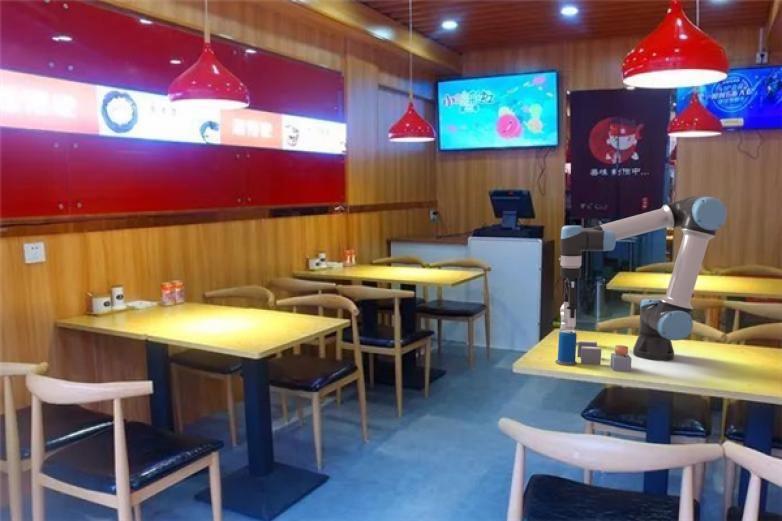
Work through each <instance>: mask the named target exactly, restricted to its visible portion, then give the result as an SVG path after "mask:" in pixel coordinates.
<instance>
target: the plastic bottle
mask: <svg viewBox="0 0 782 521" xmlns="http://www.w3.org/2000/svg"><path fill="white" fill-rule="evenodd" d="M559 311H560V330H563V329H568V330H574V331H575V327H568V319H563V312H564V302H563V303H562V305H561V306H560V308H559Z"/></svg>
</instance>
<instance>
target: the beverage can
mask: <svg viewBox="0 0 782 521" xmlns="http://www.w3.org/2000/svg"><path fill="white" fill-rule="evenodd" d="M577 337H578V334H577V333H576V330H575V329H574V330H568V329H563V330H560V331H559V333H558V346H557V347H558V348H557V350H558V351H557V360H559V361H560V362H561V363H565V364H571V363H573V362H575V361H576V359H577V358H576V357H577V354H576V353H577Z"/></svg>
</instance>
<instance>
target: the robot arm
mask: <svg viewBox="0 0 782 521" xmlns="http://www.w3.org/2000/svg"><path fill="white" fill-rule="evenodd" d="M727 216H728V212H727V207H726V206H725V204H724V203H723V202H722V201H721V200H720V199H717V198H716V197H710V196H688V197H685V198H682V199H679V200H676V201H673V202H670V203H667V204H663V206H662V207H661V208H659V209H655V210H651V211H647V212H644V213H641V214H636V215H633V216H629V217H626V218H621V219H618V220H614V221H611V222H607V223H603V224H600V225H596V226H592V227H585V228H583V226H581V225H563V226H562V227H561V233H560V257H559V258H558V261H560V268H559V276H560V278H563V279H564V283H563V285H564V286H563V295H562V296H563V297H562V300H563V303H564V312H563V319H568V327H574V328H575V327H576V326H577V325H576V324H577V323H576V320H577V309H578V304H577V303H578V302H577V301H578V300H577V299H578V298H577V285H578V284H577V282H576V281H575V279H579V278H581V277H582V268H581V266H582V252H587V251H588V252H607V251H608V252H610V251H613V250H614V249H615V247H616V243H617V241H619V240H623V239H628V238H631V237H634V236H639V235H641V234H646V233H649V232H654V231H657V230H662V229H665V228H668V229H670V230H671V229H675V228H680V230H681V232H682V233H683V237H682V239H681V244H680V246H679V250H678V252H677V257H676V260H675V264H674V266H673V270H672V273H671V275H670V276H671V277H670V280H669V282H668V283H669V284H668V286H667V290H666V293H665V295H664V296H663V297H661V298H643V299H642V300H641V302H640V306H639V308H640V309H639V324H638V325H639V328H638V329H639V330H638V335H637V339H636V341H635V343H634V346H633V349H632V351H633V352H632V354H633V355H634V356H636V357H638V358H641V359H645V360H652V361H671V360H673V359H675V350H674V347H673V346H674V345H673V344H672V341H681V340H683V339H685V338H687V337H688V336H689V335H690V334H691V333H692V331H693V328H694V322H693V319H692V316H691V315H692V313H693V310H694V307H693V306H692V304H691V300H692V297H693V293H694V290H695V286H696V284H697V279H698V277H699V274H700V270H701V267H702V264H703V260H704V257H705V254H706V251H707V247H708V244H709V241H711V239H713V238H715V237H716V233H717V230H718V229H719V228H721V227H723V225H724V224H725V222H726V220H727Z"/></svg>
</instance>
